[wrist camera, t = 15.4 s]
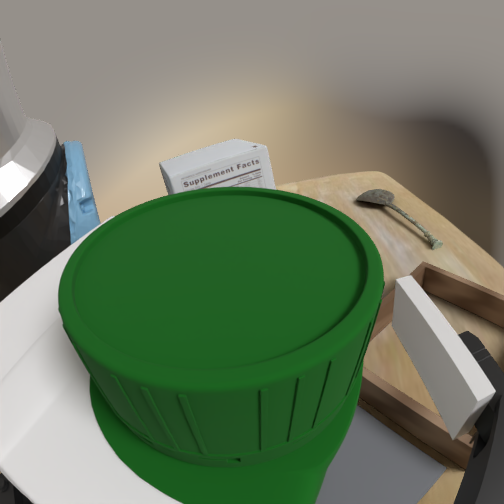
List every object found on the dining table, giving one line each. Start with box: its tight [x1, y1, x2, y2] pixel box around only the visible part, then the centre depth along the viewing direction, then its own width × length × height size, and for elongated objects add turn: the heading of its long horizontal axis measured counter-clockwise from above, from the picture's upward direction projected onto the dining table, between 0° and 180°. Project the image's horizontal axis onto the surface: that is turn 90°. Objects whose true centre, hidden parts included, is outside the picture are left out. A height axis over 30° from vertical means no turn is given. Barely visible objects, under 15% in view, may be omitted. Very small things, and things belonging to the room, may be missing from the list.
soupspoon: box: [356, 189, 443, 250], centre depth 45 cm, size 22×3×7 cm
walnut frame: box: [359, 262, 504, 470], centre depth 21 cm, size 15×15×3 cm
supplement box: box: [159, 139, 276, 195], centre depth 34 cm, size 10×9×17 cm
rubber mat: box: [315, 405, 447, 504], centre depth 17 cm, size 15×14×1 cm
